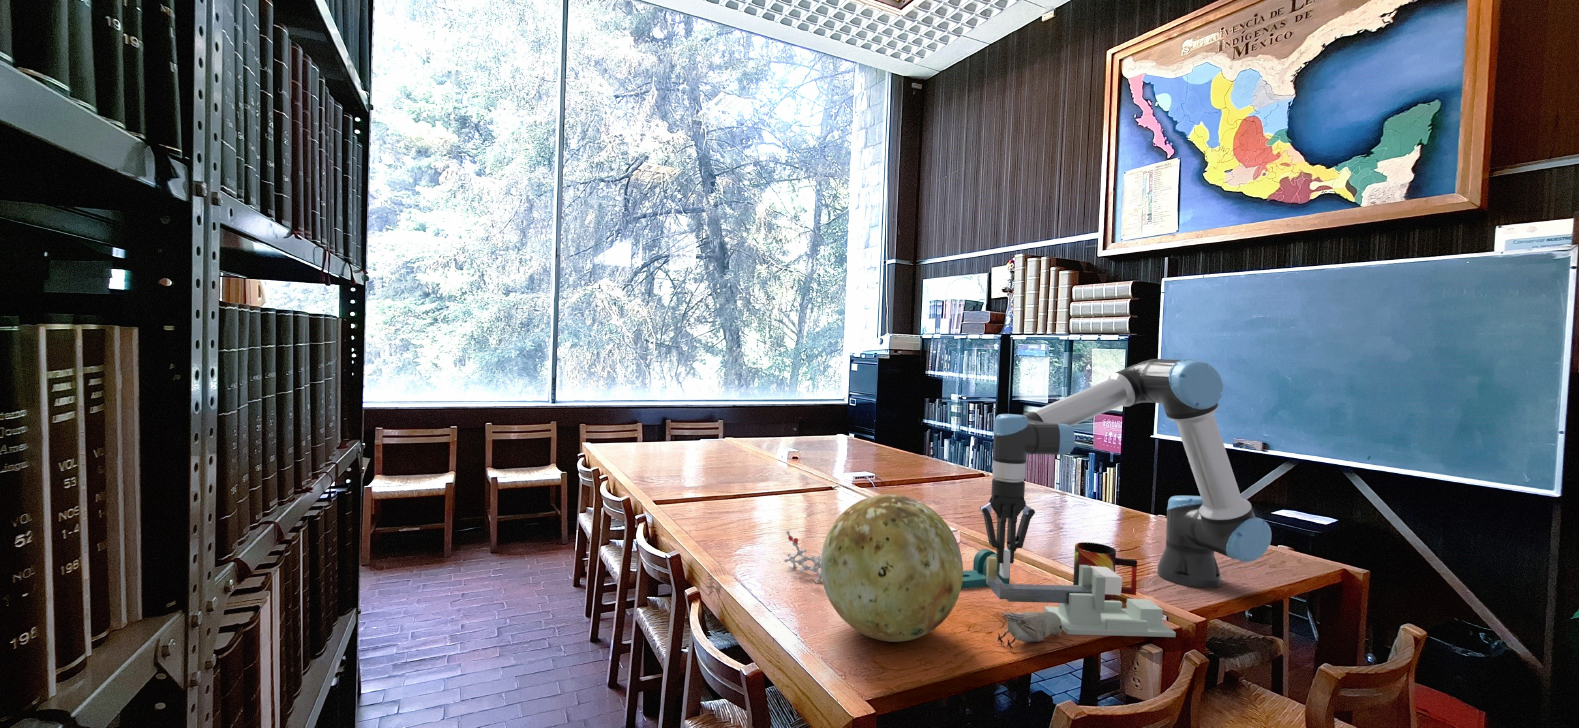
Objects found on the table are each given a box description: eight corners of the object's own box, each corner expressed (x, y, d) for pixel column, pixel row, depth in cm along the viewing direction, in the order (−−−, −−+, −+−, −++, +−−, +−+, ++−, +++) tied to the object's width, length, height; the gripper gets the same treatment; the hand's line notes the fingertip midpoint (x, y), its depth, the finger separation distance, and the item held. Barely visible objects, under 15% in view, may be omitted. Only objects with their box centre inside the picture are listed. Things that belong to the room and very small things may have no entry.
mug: (1137, 599, 167) (1139, 552, 166) (1088, 602, 164) (1090, 554, 164) (1111, 585, 176) (1113, 541, 176) (1065, 587, 174) (1067, 542, 173)
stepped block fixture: (1143, 613, 158) (1145, 563, 158) (1175, 636, 145) (1178, 583, 145) (1043, 610, 158) (1046, 560, 157) (1067, 634, 145) (1070, 580, 144)
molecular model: (845, 585, 171) (845, 548, 170) (810, 593, 167) (810, 555, 166) (811, 559, 188) (811, 525, 188) (779, 565, 184) (778, 531, 183)
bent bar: (1082, 587, 160) (1083, 559, 160) (1102, 604, 150) (1103, 573, 150) (985, 585, 159) (987, 556, 159) (999, 601, 149) (1000, 570, 149)
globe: (862, 680, 122) (868, 519, 121) (796, 617, 149) (800, 485, 148) (990, 654, 134) (996, 508, 133) (907, 600, 161) (912, 478, 160)
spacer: (1105, 583, 155) (1106, 567, 155) (1120, 595, 148) (1122, 577, 148) (1088, 582, 155) (1090, 565, 155) (1103, 593, 148) (1104, 576, 148)
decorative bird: (1069, 642, 141) (1070, 607, 141) (1010, 654, 135) (1012, 618, 134) (1049, 632, 146) (1051, 598, 146) (992, 643, 140) (994, 608, 139)
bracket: (993, 576, 181) (995, 547, 181) (1009, 584, 175) (1010, 555, 175) (936, 581, 176) (937, 552, 175) (950, 590, 169) (951, 560, 169)
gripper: (1029, 476, 162) (1025, 571, 162) (976, 475, 162) (972, 570, 162) (1041, 482, 154) (1037, 582, 155) (986, 481, 154) (982, 581, 155)
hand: (1004, 576), depth 159 cm, fingers closed
